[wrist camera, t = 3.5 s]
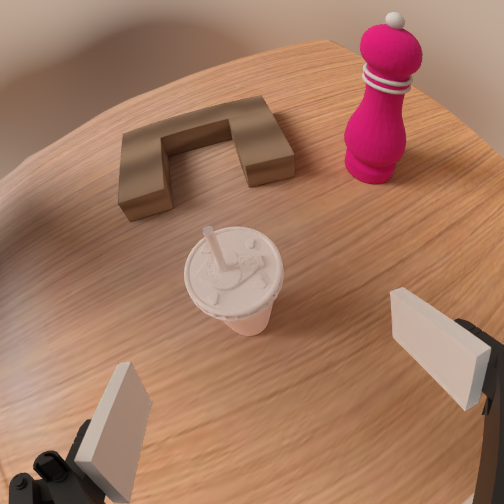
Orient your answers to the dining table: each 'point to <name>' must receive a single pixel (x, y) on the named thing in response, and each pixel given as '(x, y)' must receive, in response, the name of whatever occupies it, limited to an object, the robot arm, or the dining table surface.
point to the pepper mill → (382, 101)
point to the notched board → (195, 136)
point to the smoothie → (235, 277)
